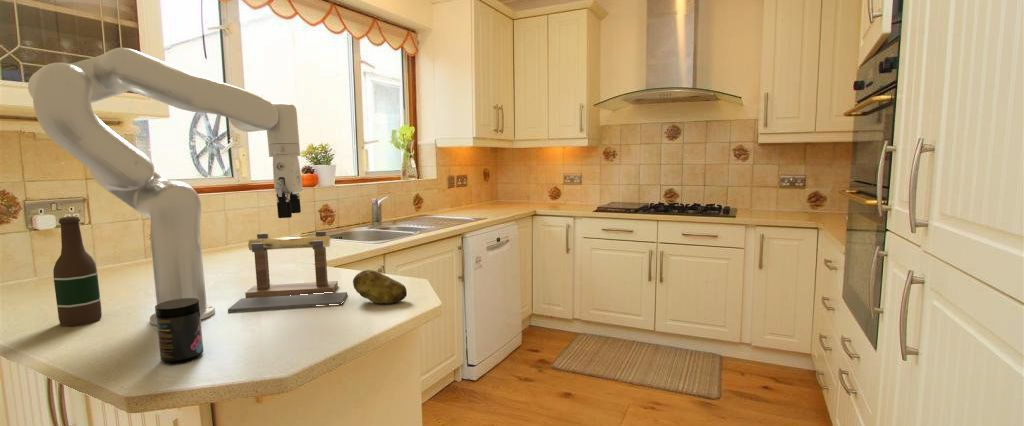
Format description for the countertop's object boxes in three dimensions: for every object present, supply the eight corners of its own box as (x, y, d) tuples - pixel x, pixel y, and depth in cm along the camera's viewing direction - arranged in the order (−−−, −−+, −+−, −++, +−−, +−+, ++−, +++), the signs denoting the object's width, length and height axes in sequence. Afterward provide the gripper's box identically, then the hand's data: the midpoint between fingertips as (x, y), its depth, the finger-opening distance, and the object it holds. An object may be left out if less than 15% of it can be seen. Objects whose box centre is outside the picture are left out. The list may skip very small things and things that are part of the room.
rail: (328, 247, 134) (327, 236, 134) (248, 251, 130) (248, 240, 130) (330, 246, 137) (329, 235, 137) (252, 249, 133) (251, 238, 133)
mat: (342, 305, 123) (341, 301, 122) (228, 312, 118) (227, 309, 118) (347, 295, 131) (347, 292, 131) (241, 301, 127) (241, 298, 127)
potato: (389, 310, 118) (388, 277, 117) (348, 303, 124) (346, 272, 123) (410, 300, 126) (409, 269, 125) (371, 295, 131) (369, 265, 130)
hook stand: (333, 292, 134) (330, 234, 132) (245, 298, 130) (240, 237, 128) (337, 286, 140) (334, 230, 139) (254, 291, 137) (249, 233, 135)
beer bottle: (109, 319, 114) (98, 215, 112) (66, 329, 108) (53, 220, 105) (95, 314, 118) (83, 214, 116) (52, 323, 112) (39, 218, 109)
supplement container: (190, 365, 88) (185, 308, 87) (151, 366, 88) (145, 309, 87) (211, 350, 95) (207, 297, 94) (175, 351, 95) (170, 298, 93)
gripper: (291, 150, 123) (296, 219, 125) (306, 150, 140) (311, 210, 142) (258, 151, 122) (265, 220, 124) (278, 151, 138) (283, 212, 141)
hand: (290, 215), depth 133 cm, fingers open, 9 cm apart
